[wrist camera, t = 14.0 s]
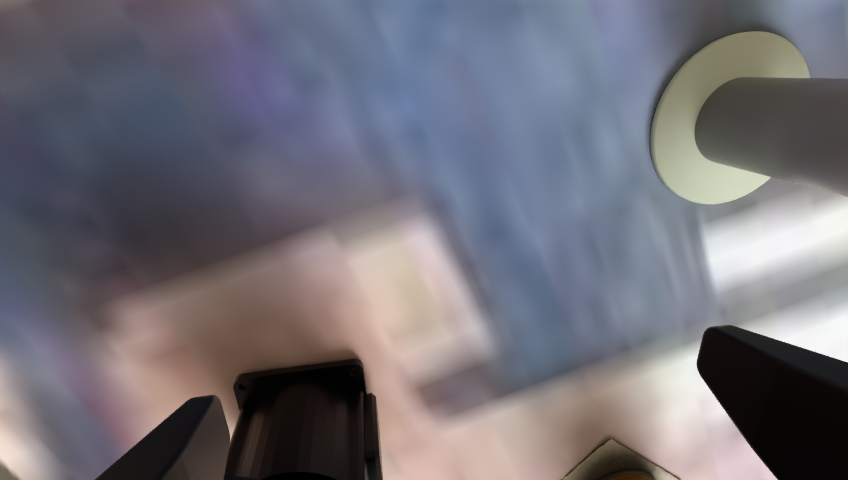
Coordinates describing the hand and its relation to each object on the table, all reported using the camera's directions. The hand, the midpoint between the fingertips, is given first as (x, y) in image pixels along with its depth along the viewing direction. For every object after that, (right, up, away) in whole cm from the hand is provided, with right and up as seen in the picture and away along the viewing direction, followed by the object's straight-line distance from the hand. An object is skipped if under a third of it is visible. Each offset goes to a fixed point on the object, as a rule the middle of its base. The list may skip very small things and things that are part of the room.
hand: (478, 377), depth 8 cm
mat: (+14, +8, +13) cm, 21 cm away
